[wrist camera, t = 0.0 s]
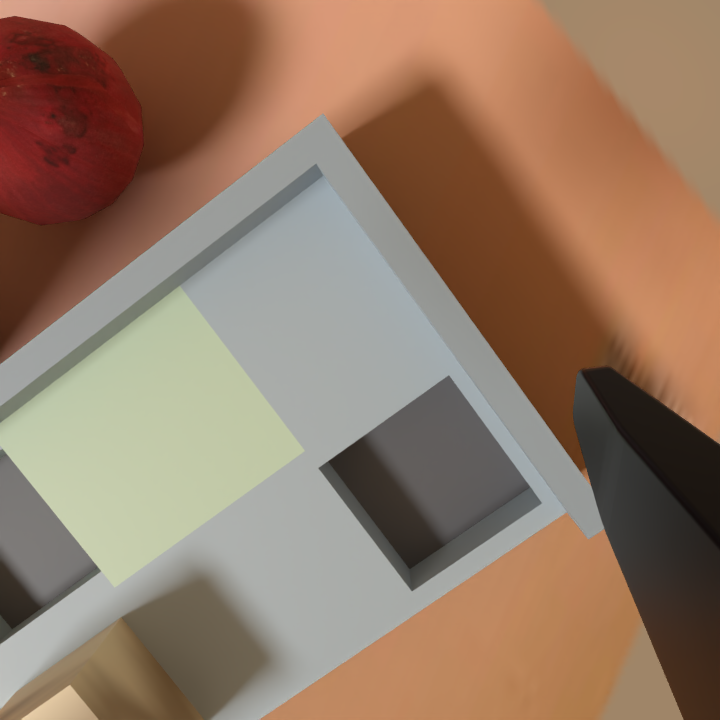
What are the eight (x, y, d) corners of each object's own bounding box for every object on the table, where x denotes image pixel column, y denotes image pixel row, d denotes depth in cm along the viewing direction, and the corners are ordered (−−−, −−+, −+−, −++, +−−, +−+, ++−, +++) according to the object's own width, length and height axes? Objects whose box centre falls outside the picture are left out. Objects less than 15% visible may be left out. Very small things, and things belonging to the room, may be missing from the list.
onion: (118, 31, 23) (-16, -94, 15) (203, 178, 24) (116, 130, 16) (-18, 117, 24) (-217, 39, 16) (68, 260, 24) (-82, 252, 16)
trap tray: (574, 478, 25) (615, 521, 20) (118, 788, 27) (67, 886, 23) (333, 143, 24) (323, 113, 19) (-125, 496, 26) (-228, 541, 21)
